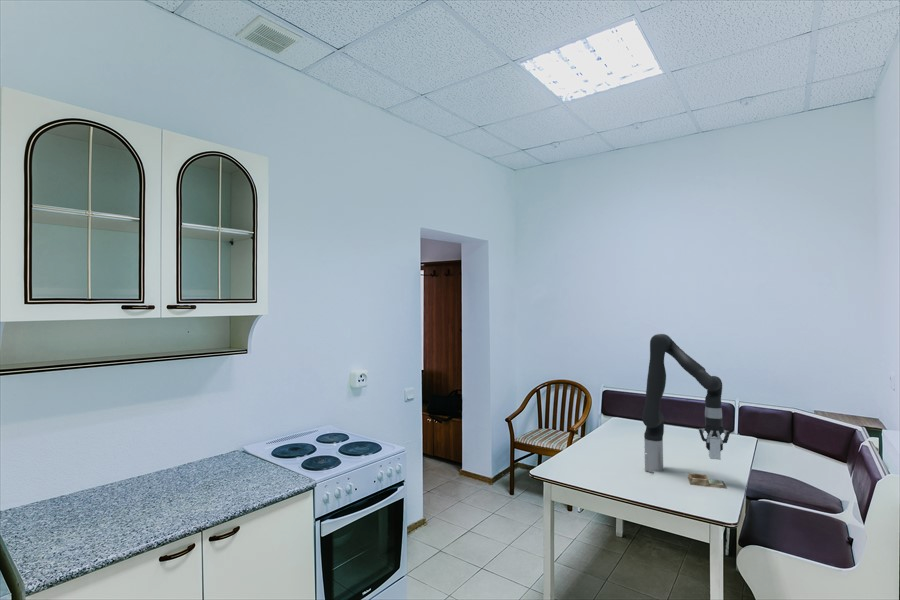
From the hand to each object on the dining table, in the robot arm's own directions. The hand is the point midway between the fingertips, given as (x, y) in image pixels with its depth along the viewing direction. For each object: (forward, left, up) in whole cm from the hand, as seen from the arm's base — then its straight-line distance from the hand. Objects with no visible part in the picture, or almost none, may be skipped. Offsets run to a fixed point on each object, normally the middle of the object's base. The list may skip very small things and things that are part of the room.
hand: (714, 450), depth 224 cm
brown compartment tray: (-4, -1, -17) cm, 18 cm away
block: (0, 0, -4) cm, 4 cm away
